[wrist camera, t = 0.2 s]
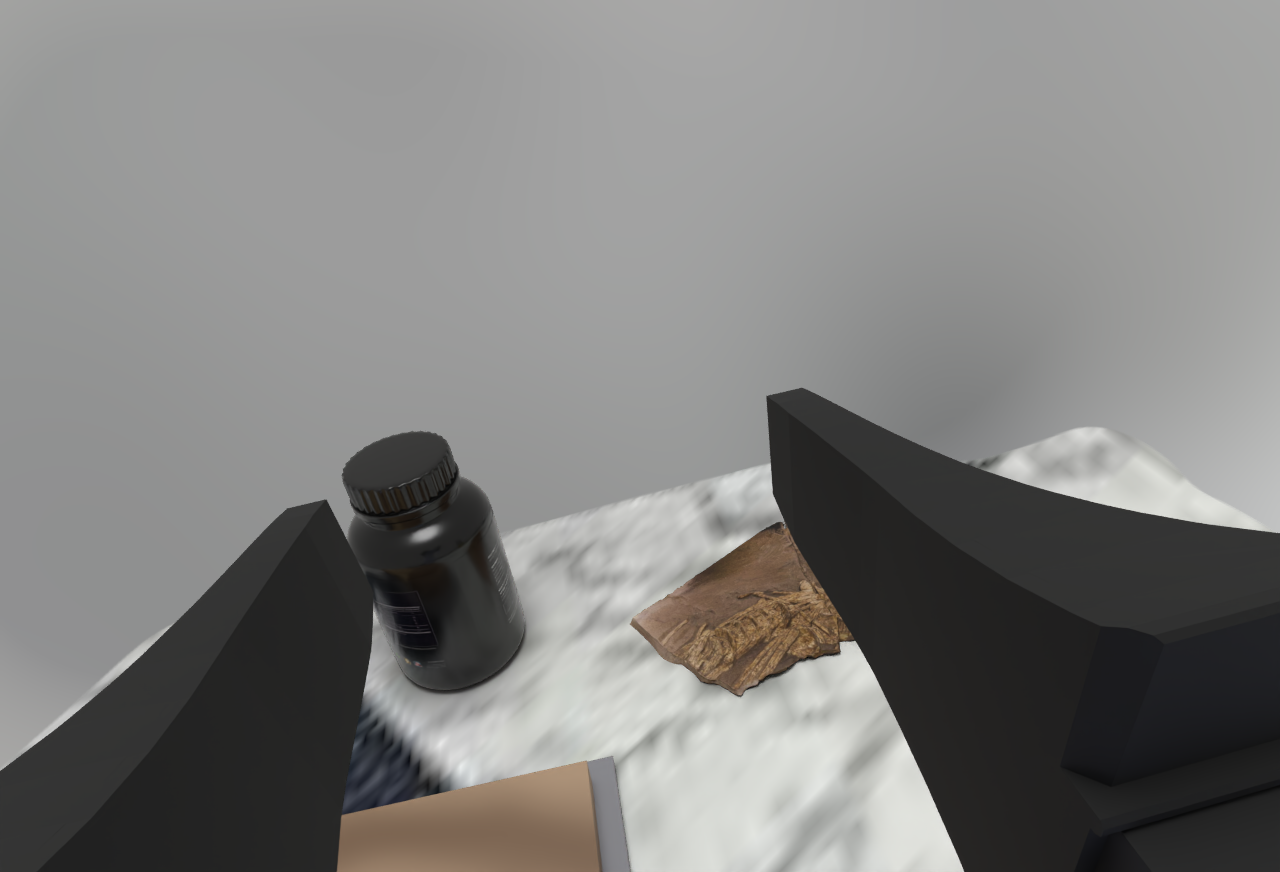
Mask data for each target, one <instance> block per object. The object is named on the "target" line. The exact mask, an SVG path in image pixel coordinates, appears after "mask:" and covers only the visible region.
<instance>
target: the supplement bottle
mask: <svg viewBox="0 0 1280 872" xmlns="http://www.w3.org/2000/svg"><path fill="white" fill-rule="evenodd" d="M342 479H343V484H344V486H345V488H346V491H347V493H348V496H349V498H350V503H351V506H352V508H353V511H354V513H355V516H354V518H353V519H352V521H351V524H350V527H349V530H348V534H347V541H348V543H349V545H350V547H351V549H352V551H353V553H354V555H355V557H356V559H357V561H358V563H359V564H360V566H361V568H362V570H363V572H364V574H365V576H366V578H367V580H368V582H369V584H370V586H371V588H372V590H373V592H374V593H373V610H374V612H375V614H376V617H377V619H378V621H379V623H380V625H381V627H382V630H383V632H384V634H385V636H386V638H387V641H388V643H389V645H390V647H391V649H392V651H393V654H394V656H395V658H396V659H397V662H398V664H399V666H400V668H401V669H402V671H403V672H404V674H405V675H406V676H407V677H408V678H409V679H410V680H412V681H413V682H414V683H416V684H418V685H420V686H422V687H425V688H429V689H434V690H455V689H460V688H464V687H468V686H471V685H474V684H476V683H479V682H481V681H483V680H485V679H486V678H488V677H490V676H491V675H493V674H494V673H496V672H497V671H498V670H500V669H501V668H502V667H503V666H504V665H505V664H506V663H507V662H508V661H509V660H510V659H511V657H512V656H513V655H514V653H515V652H516V650H517V648H518V647H519V645H520V642H521V640H522V637H523V633H524V626H525V621H524V614H523V610H522V606H521V603H520V599H519V596H518V592H517V589H516V586H515V583H514V579H513V576H512V573H511V569H510V566H509V563H508V559H507V556H506V553H505V549H504V546H503V543H502V540H501V536H500V533H499V530H498V526H497V523H496V520H495V517H494V513H493V510H492V507H491V504H490V502H489V499H488V497H487V496H486V494H485V493H484V491H483V490H482V489H481V488H480V487H479V486H477V485H476V484H475V483H473V482H472V481H470V480H468V479H466V478H464V477H461V476H460V472H459V469H458V466H457V464H456V463H455V461H454V459H453V455H452V452H451V449H450V447H449V445H448V443H447V441H446V440H445V439H443V437H442V436H439V435H437V434H436V433H431V432H423V431H419V432H413V431H412V432H408V433H401V434H398V435H392V436H390V437H387V438H383V439H381V440H379V441H376V442H373V443H372V444H370V445H368V446H366V447H364V448H363V449H362V450H360V451H359V452H357V453H356V454H355V455H354V456H353V457H351V459H350V461H348V462H347V463H346V466H345V468H344V469H343V473H342Z"/></svg>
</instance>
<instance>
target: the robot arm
mask: <svg viewBox="0 0 1280 872" xmlns="http://www.w3.org/2000/svg"><path fill="white" fill-rule="evenodd" d="M767 412H768V426H769V440H770V456H771V471H772V486H773V495H774V497H775V500H776V502H777V504H778V507H779V509H780V511H781V514H782V516H783V518H784V521H785V523H786V525H787V527H788V529H789V531H790V534H791V536H792V538H793V540H794V542H795V544H796V546H797V547H798V549H799V551H800V552H801V554H802V556H803V557H804V559H805V561H806V562H807V564H808V565H809V567H810V569H811V570H812V572H813V574H814V575H815V577H816V578H817V580H818V582H819V583H820V585H821V586H822V588H823V590H824V591H825V593H826V594H827V596H828V598H829V599H830V601H831V602H832V604H833V606H834V607H835V609H836V610H837V612H838V614H839V615H840V617H841V618H842V620H843V622H844V623H845V625H846V626H847V628H848V630H849V631H850V633H851V634H852V636H853V638H854V639H855V641H856V642H857V644H858V646H859V647H860V649H861V651H862V653H863V654H864V656H865V658H866V660H867V662H868V663H869V665H870V667H871V669H872V670H873V672H874V674H875V676H876V679H877V681H878V683H879V685H880V687H881V689H882V691H883V693H884V695H885V697H886V699H887V701H888V703H889V705H890V707H891V709H892V711H893V713H894V716H895V718H896V720H897V722H898V724H899V726H900V728H901V730H902V732H903V735H904V737H905V739H906V741H907V743H908V745H909V747H910V750H911V752H912V754H913V756H914V758H915V760H916V763H917V765H918V767H919V769H920V771H921V773H922V776H923V778H924V780H925V782H926V784H927V786H928V789H929V791H930V793H931V796H932V798H933V800H934V802H935V805H936V807H937V809H938V812H939V814H940V816H941V818H942V821H943V823H944V825H945V828H946V830H947V832H948V834H949V837H950V839H951V841H952V843H953V846H954V848H955V850H956V853H957V855H958V857H959V860H960V862H961V864H962V867H963V869H964V872H1280V533H1273V532H1265V531H1256V530H1248V529H1240V528H1232V527H1224V526H1216V525H1209V524H1202V523H1196V522H1190V521H1185V520H1179V519H1173V518H1168V517H1162V516H1157V515H1151V514H1146V513H1140V512H1135V511H1131V510H1126V509H1121V508H1116V507H1112V506H1107V505H1102V504H1098V503H1094V502H1090V501H1086V500H1082V499H1078V498H1074V497H1070V496H1066V495H1062V494H1058V493H1054V492H1051V491H1047V490H1044V489H1040V488H1037V487H1033V486H1030V485H1026V484H1023V483H1020V482H1017V481H1014V480H1011V479H1008V478H1005V477H1002V476H999V475H996V474H993V473H990V472H987V471H984V470H981V469H978V468H975V467H972V466H970V465H967V464H964V463H962V462H959V461H957V460H954V459H952V458H949V457H947V456H944V455H942V454H940V453H937V452H935V451H932V450H930V449H928V448H925V447H923V446H921V445H918V444H916V443H914V442H912V441H910V440H907V439H905V438H903V437H901V436H899V435H897V434H894V433H892V432H890V431H888V430H886V429H884V428H882V427H880V426H878V425H876V424H874V423H872V422H870V421H868V420H866V419H864V418H862V417H860V416H858V415H856V414H854V413H852V412H850V411H848V410H846V409H844V408H842V407H840V406H838V405H837V404H834V403H832V402H831V401H829V400H827V399H825V398H823V397H821V396H819V395H817V394H815V393H812V392H810V391H808V390H806V389H804V388H799V389H795V390H791V391H786V392H783V393H778V394H773V395H769V396H767ZM373 593H374V592H373V590H372V588H371V586H370V584H369V582H368V580H367V578H366V576H365V574H364V572H363V570H362V568H361V566H360V564H359V563H358V561H357V559H356V557H355V555H354V553H353V551H352V549H351V547H350V545H349V543H348V541H347V539H346V537H345V535H344V533H343V531H342V529H341V527H340V525H339V524H338V522H337V520H336V518H335V516H334V514H333V512H332V510H331V508H330V506H329V504H328V502H327V500H322V501H318V502H313V503H309V504H305V505H301V506H296V507H292V508H288V509H287V510H285V511H284V512H283V513H282V514H281V515H280V516H279V517H278V518H276V519H275V520H274V521H273V522H272V523H271V524H270V525H269V526H268V527H267V528H266V529H265V530H264V531H263V532H262V534H261V535H260V536H259V537H258V538H257V539H256V540H255V541H254V542H253V543H252V544H251V545H250V546H249V547H248V548H247V549H246V550H245V551H244V552H243V554H242V555H241V556H240V557H239V558H238V559H237V560H236V561H235V562H234V563H233V564H232V565H231V566H230V567H229V568H228V570H226V572H225V573H224V574H223V575H222V576H221V577H220V578H219V579H218V580H217V581H216V582H215V583H214V584H213V585H212V586H211V587H210V588H209V589H208V590H207V591H206V593H205V594H204V595H203V596H202V597H201V598H200V599H199V600H198V601H197V602H196V603H195V604H194V605H193V606H192V607H191V608H190V609H189V610H188V611H187V612H186V613H185V614H184V615H183V616H182V617H181V618H180V619H179V620H178V621H177V622H176V623H175V624H174V625H172V626H171V627H170V628H169V629H168V630H167V631H166V632H165V633H164V634H163V635H162V636H161V637H160V638H159V639H158V640H157V641H156V642H155V643H154V644H153V645H152V646H151V647H150V648H149V649H148V650H147V651H146V652H145V653H144V654H143V655H142V656H141V657H140V658H139V659H137V660H136V661H135V662H134V663H133V664H132V665H131V666H130V667H129V668H128V669H126V670H125V671H124V672H123V673H122V674H121V675H120V676H119V677H117V678H116V679H115V680H114V681H113V682H112V683H111V684H110V685H108V686H107V687H106V688H105V689H104V690H103V691H101V692H100V693H99V694H98V695H97V696H95V697H94V698H93V699H92V700H91V701H89V702H88V703H87V704H86V705H85V706H83V707H82V708H81V709H80V710H79V711H78V712H76V713H75V714H74V715H73V716H72V717H70V718H69V719H68V720H67V721H65V722H64V723H63V724H62V725H60V726H59V727H58V728H57V729H55V730H54V731H53V732H51V733H50V734H49V735H47V736H46V737H45V738H43V739H42V740H41V741H39V742H38V743H37V744H36V745H34V746H33V747H32V748H30V749H29V750H28V751H26V752H25V753H24V754H22V755H21V756H20V757H18V758H17V759H16V760H14V761H13V762H12V763H10V764H9V765H8V766H6V767H5V768H4V769H2V770H1V771H0V872H337V865H338V853H339V840H340V828H341V816H342V808H343V801H344V794H345V787H346V781H347V776H348V770H349V765H350V760H351V755H352V750H353V744H354V739H355V734H356V729H357V724H358V718H359V713H360V708H361V703H362V698H363V692H364V687H365V682H366V676H367V671H368V665H369V659H370V653H371V646H372V628H373Z"/></svg>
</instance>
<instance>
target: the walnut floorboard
mask: <svg viewBox="0 0 1280 872" xmlns="http://www.w3.org/2000/svg"><path fill="white" fill-rule="evenodd" d="M337 872H603V870H602V861H601V853H600V844H599V836H598V827H597V819H596V810H595V802H594V793H593V785H592V780H591V776H590V772H589V768H588V764H587V761H583V762H579V763H574V764H570V765H565V766H561V767H556V768H552V769H547V770H543V771H538V772H534V773H529V774H525V775H520V776H516V777H511V778H507V779H502V780H498V781H494V782H489V783H485V784H480V785H476V786H471V787H467V788H462V789H458V790H453V791H449V792H444V793H440V794H435V795H431V796H426V797H422V798H417V799H413V800H408V801H404V802H399V803H395V804H391V805H386V806H382V807H377V808H373V809H368V810H364V811H359V812H355V813H350V814H346V815H342V816H341V828H340V840H339V853H338V865H337Z"/></svg>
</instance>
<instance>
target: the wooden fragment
mask: <svg viewBox="0 0 1280 872" xmlns="http://www.w3.org/2000/svg"><path fill="white" fill-rule="evenodd" d="M784 522H785V521H784ZM782 524H783V522H777V523H775V524H773V525H771V526H770V527H767V528H766V529H764V530H762V531H761V532H759V533H758V534H756V535H755V536H753V537H752V538H751V539H749V540H748V541H746V542H745V543H743V544H742V545H740V546H739V547H737V548H736V549H735V550H733V551H732V552H731V553H729V554H727V555H726V556H725V557H723V558H722V559H720V560H719V561H717V562H716V563H714V564H713V565H711V566H710V567H709V568H707V569H706V570H704V571H703V572H701V573H699V574H698V575H696V576H695V577H694V578H693V579H691V580H689V581H688V582H686V583H685V584H684V585H683V586H681V587H680V588H677V589H676V590H675V591H674V592H673V593H672V594H669V595H667V596H666V597H665V598H664V599H663V600H659V601H658V602H656V603H655V604H653V605H652V606H650V607H649V608H647V609H644V610H643V611H642V612H641V613H639V614H637V615H636V616H635V617H633V619H632V621H631V623H630V625H631V626H633V627H634V628H635V629H636V630H637V631H638V632H639V633H640V634H641V635H643V636H644V638H645V639H646V640H647V641H649V642H650V643H651V645H652V646H653V647H654V648H655V649H656V651H657V652H658V654H659V655H660V656H661V657H662V658H663V659H665V660H667V661H669V662H671V663H674V664H682V665H683V666H685V667H686V668H687V669H689V670H690V671H691V672H693V673H694V674H695V675H696V676H697V677H698V678H699V679H700V681H701V682H705V683H708V684H710V683H715V684H716V685H720V686H722V687H723V688H725V689H728V690H729V691H730V692H732V693H734V694H735V695H742V694H743V692H744V691H745V690H746V689H748V688H749V687H752V686H757V685H758V683H759V682H760V681H762V680H763V679H764V678H765V677H766V676H768V675H773V674H776V673H780V672H782V671H785V670H787V667H788V668H789V667H790V666H791V665H792V664H794V663H795V662H797V661H798V660H799V659H804V658H806V657H811V658H816V657H818V656H820V655H823V654H832V653H839V652H841V651H840V646H839V642H842V641H852V640H855V639H854V638H853V636H852V634H851V633H850V631H849V630H848V628H847V626H846V625H845V623H844V622H843V620H842V618H841V617H840V615H839V614H838V612H837V610H836V609H835V607H834V606H833V604H832V602H831V601H830V599H829V598H828V596H827V594H826V593H825V591H824V590H823V588H822V586H821V585H820V583H819V582H818V580H817V578H816V577H815V575H814V574H813V572H812V570H811V569H810V567H809V565H808V564H807V562H806V561H805V559H804V557H803V556H802V554H801V552H800V551H799V549H798V547H797V546H796V544H795V542H794V540H793V538H792V536H791V534H790V531H789V529H788V527H787V528H786V529H784V525H785V524H786V523H785V524H783V525H782ZM786 526H787V525H786Z"/></svg>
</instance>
